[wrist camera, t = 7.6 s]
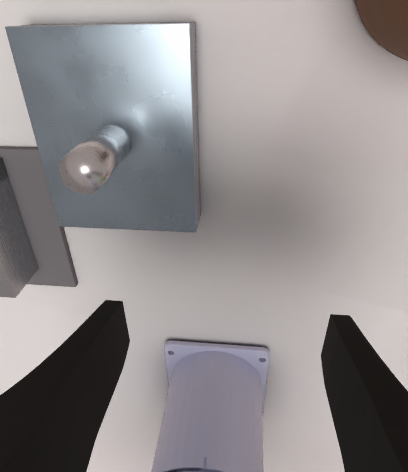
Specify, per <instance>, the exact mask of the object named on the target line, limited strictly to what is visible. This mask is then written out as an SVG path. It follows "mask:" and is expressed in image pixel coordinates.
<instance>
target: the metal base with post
mask: <svg viewBox="0 0 408 472" xmlns="http://www.w3.org/2000/svg"><path fill="white" fill-rule="evenodd" d="M5 29H6V32H7V36H8V40H9V43H10V47H11V51H12V54H13V58H14V62H15V65H16V69H17V73H18V76H19V80H20V84H21V87H22V91H23V95H24V98H25V102H26V106H27V110H28V113H29V117H30V121H31V124H32V128H33V132H34V135H35V139H36V143H37V146H38V150H39V154H40V157H41V161H42V165H43V168H44V172H45V176H46V179H47V183H48V187H49V190H50V194H51V198H52V201H53V205H54V209H55V213H56V216H57V220H58V224H59V226H62V227H86V228H110V229H133V230H157V231H181V232H196V231H197V227H198V223H199V219H200V180H199V142H198V105H197V67H196V29H195V22H165V23H108V24H51V25H21V26H8V27H5Z"/></svg>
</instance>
